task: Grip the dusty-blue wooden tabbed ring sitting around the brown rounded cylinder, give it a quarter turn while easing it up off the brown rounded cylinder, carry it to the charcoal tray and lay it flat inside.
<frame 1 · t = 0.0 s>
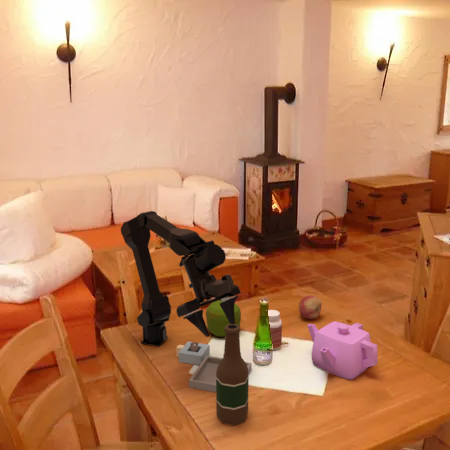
hand: (221, 330, 137), 15 cm above the table, tool tilted 35°, fingers open, 9 cm apart
beer bottle: (232, 416, 125), on the table
tray: (221, 378, 142), on the table
apple: (223, 332, 168), on the table
pill bottle: (271, 346, 159), on the table
brown rounded cylinder: (194, 357, 152), on the table
ring: (194, 357, 152), on the table
teakettle: (338, 365, 148), on the table
fruit: (309, 318, 178), on the table
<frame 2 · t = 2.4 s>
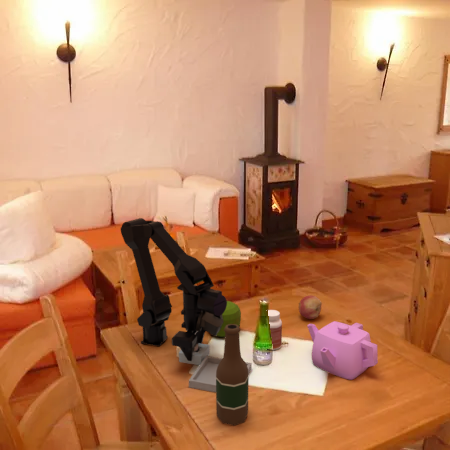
hand: (194, 354, 152), 1 cm above the table, tool pointing down, fingers closed on ring, 7 cm apart
ring: (194, 357, 152), on the table, touching gripper
everything else where it was.
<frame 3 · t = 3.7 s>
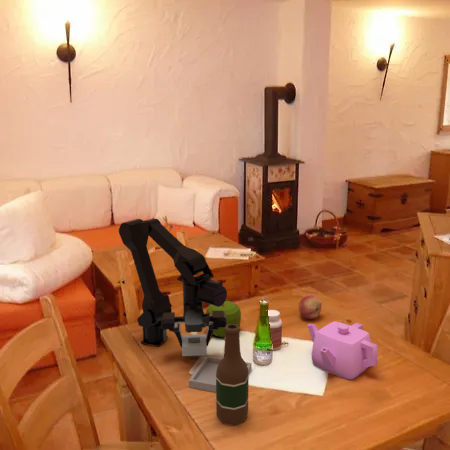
hand: (194, 346, 151), 4 cm above the table, tool pointing down, fingers closed on ring, 7 cm apart
ring: (194, 349, 151), point 3 cm above the table, touching gripper
everything else where it was.
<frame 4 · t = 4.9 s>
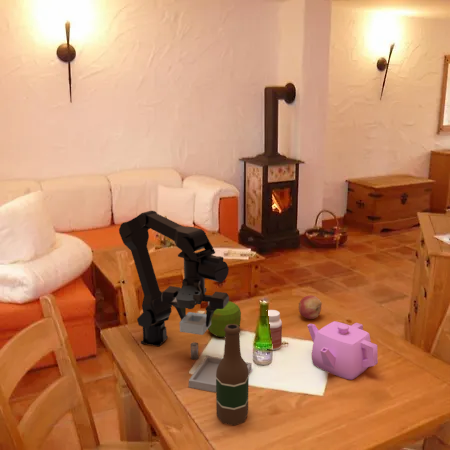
hand: (195, 324, 148), 11 cm above the table, tool pointing down, fingers closed on ring, 7 cm apart
ring: (195, 328, 149), point 10 cm above the table, touching gripper
everything else where it was.
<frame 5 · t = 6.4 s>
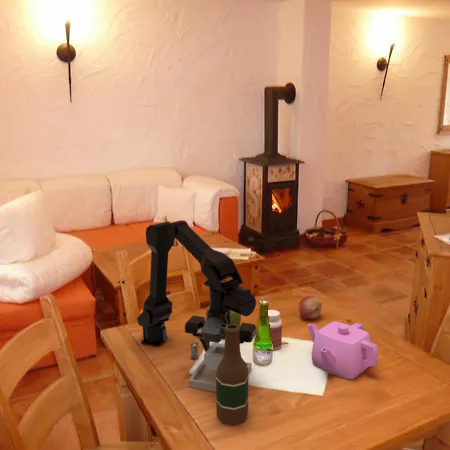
hand: (220, 356, 140), 6 cm above the table, tool pointing down, fingers closed on ring, 7 cm apart
ring: (220, 360, 140), point 6 cm above the table, touching gripper
everything else where it was.
when the fingers open (3 cm above the table, at t = 7.5 s): ring drops 2 cm, resting on tray.
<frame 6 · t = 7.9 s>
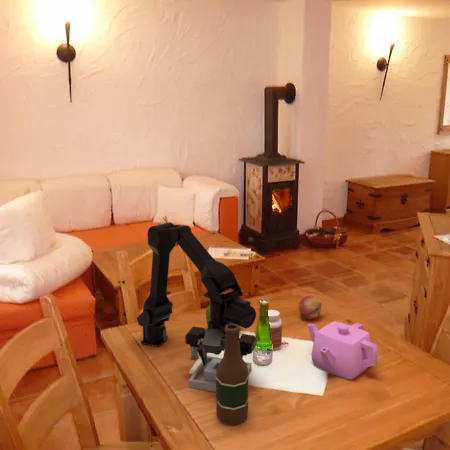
hand: (220, 367, 141), 3 cm above the table, tool pointing down, fingers open, 9 cm apart
ring: (220, 376, 141), point 1 cm above the table, touching tray
everything else where it was.
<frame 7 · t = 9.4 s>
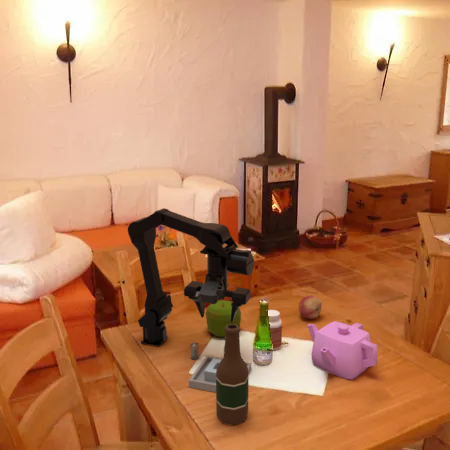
hand: (217, 319, 150), 12 cm above the table, tool pointing down, fingers open, 9 cm apart
nothing on the table moved.
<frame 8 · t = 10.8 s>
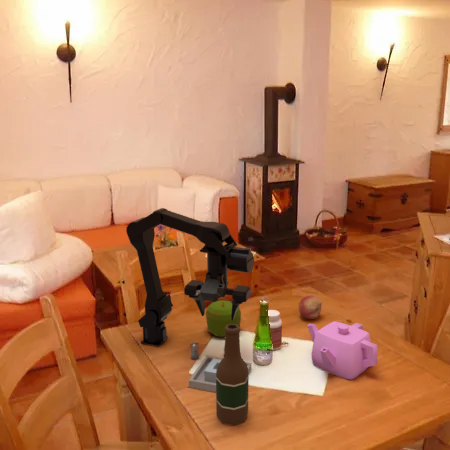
hand: (217, 317, 151), 12 cm above the table, tool pointing down, fingers open, 9 cm apart
nothing on the table moved.
at the end: ring inside the target area on the tray (0.0 cm from its centre), point 0.6 cm above the tray's base; ring tilted 0°; the gripper is holding nothing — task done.
